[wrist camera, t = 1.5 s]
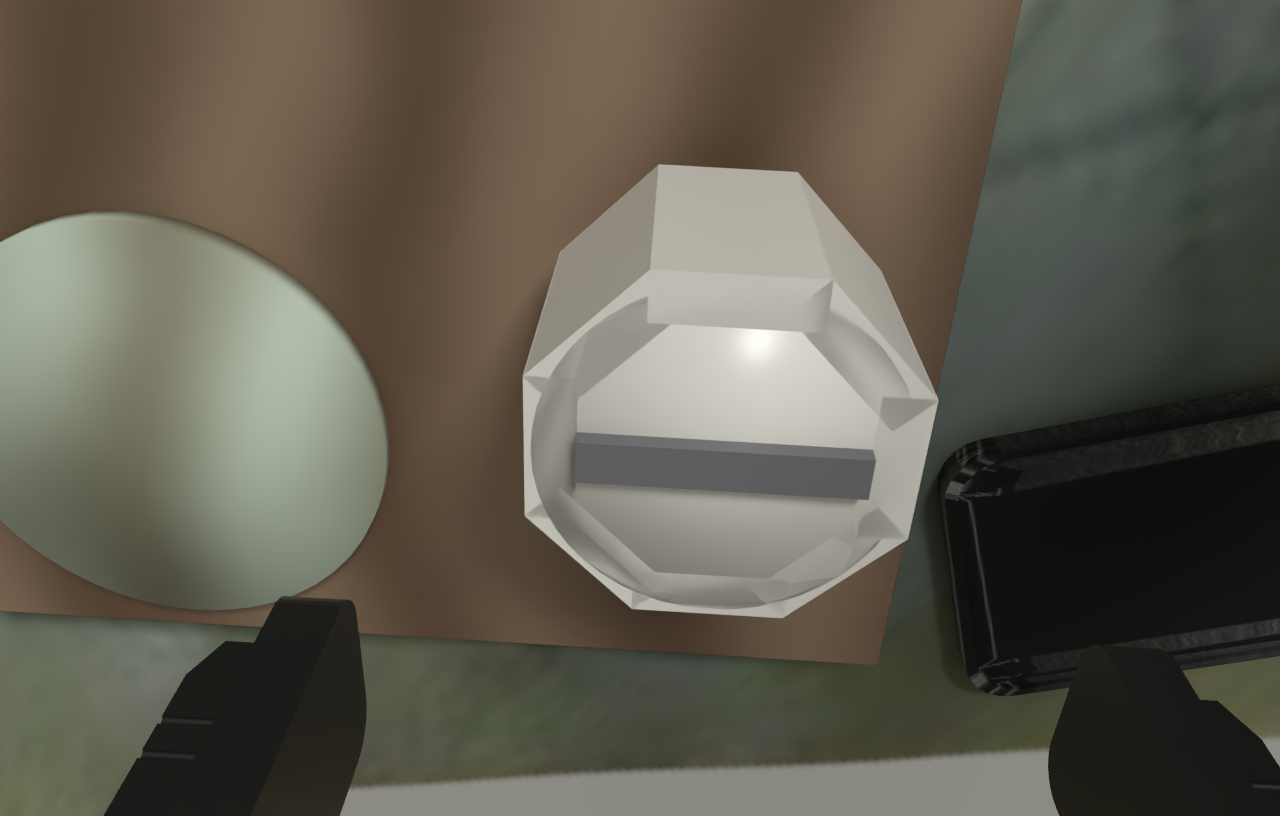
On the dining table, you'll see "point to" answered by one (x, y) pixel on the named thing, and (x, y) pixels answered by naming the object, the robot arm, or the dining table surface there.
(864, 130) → the board
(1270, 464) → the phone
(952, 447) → the dining table surface
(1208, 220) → the dining table surface
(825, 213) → the cap
